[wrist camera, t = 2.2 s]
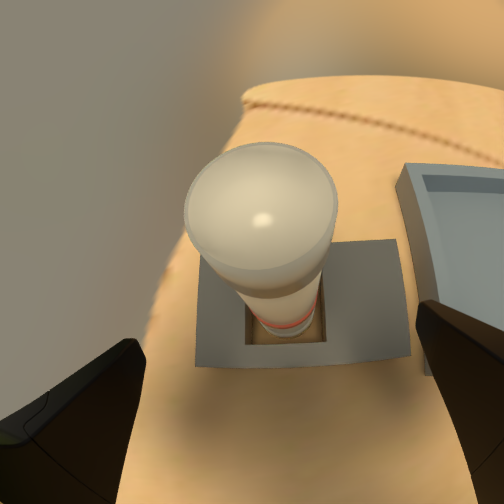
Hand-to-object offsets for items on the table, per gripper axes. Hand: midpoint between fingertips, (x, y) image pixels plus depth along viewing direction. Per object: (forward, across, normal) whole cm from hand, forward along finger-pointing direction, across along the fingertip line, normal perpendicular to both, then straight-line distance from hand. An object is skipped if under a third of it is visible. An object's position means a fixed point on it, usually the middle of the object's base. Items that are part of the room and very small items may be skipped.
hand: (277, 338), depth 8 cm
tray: (+9, -16, +5) cm, 19 cm away
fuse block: (+9, -1, +5) cm, 10 cm away
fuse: (+9, 0, +5) cm, 10 cm away
